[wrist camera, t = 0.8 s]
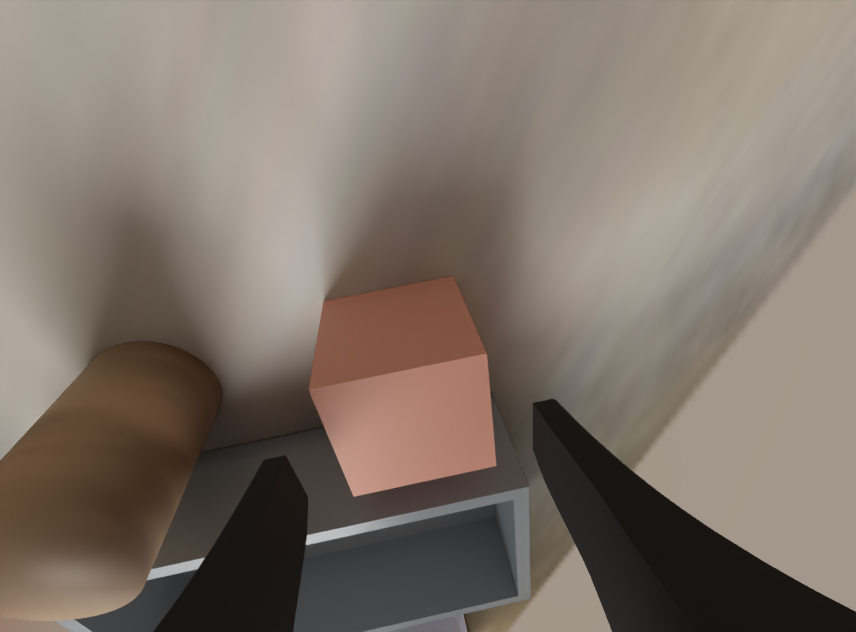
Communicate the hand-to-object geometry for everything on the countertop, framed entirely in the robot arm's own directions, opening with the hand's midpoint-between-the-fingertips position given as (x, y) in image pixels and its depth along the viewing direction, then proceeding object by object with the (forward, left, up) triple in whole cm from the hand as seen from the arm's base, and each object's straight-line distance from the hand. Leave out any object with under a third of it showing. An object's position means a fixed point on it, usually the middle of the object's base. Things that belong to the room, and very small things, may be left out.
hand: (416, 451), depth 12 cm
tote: (-9, +6, -6) cm, 12 cm away
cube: (0, 0, -6) cm, 6 cm away
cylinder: (0, +10, -6) cm, 12 cm away
